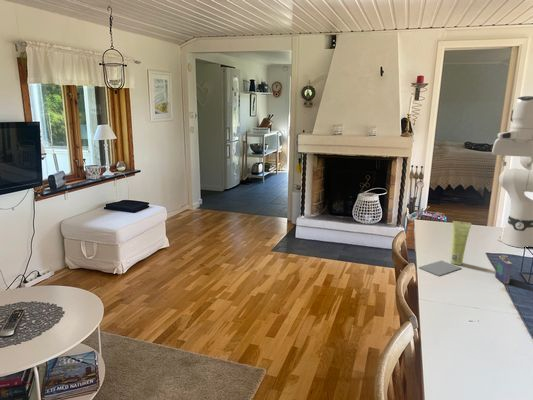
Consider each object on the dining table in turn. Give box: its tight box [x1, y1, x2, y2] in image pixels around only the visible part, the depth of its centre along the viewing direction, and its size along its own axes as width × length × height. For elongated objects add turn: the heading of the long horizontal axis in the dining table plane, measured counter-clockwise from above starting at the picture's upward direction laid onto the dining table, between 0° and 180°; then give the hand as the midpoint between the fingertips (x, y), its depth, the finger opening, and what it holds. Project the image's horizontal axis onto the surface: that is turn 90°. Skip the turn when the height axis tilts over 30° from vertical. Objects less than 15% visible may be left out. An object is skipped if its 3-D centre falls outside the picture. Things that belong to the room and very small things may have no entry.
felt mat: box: [418, 260, 463, 277], centre depth 176 cm, size 16×10×1 cm, turn 122°
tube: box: [449, 220, 472, 266], centre depth 180 cm, size 6×5×20 cm
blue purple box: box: [494, 254, 513, 285], centre depth 164 cm, size 9×3×11 cm, turn 172°
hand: (516, 166), depth 177 cm, fingers open, 8 cm apart
